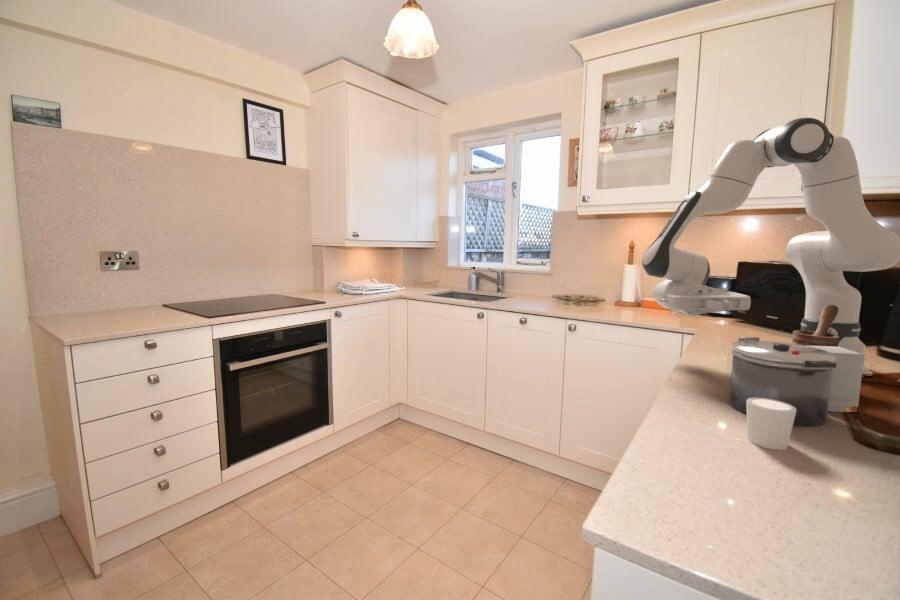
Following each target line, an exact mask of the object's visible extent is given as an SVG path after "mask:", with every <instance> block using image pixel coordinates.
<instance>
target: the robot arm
mask: <svg viewBox="0 0 900 600" xmlns="http://www.w3.org/2000/svg"><path fill="white" fill-rule="evenodd" d="M857 161H858V160H857V157H856V154H855V151H854V147H853V146H852V144H851V141H850V140H849V139H848V138H846V137H845V136H838V135H837V136H836V135H833V133H831V132H830V130H829V128H828V126H827V125H826V124H825V123H824V122H823V121H821V120H819V119H818V118H814V117H799V118H795V119H793V120H788V121H785V122H782V123H779V124H777V125H775V126H774V127H771V128H768V129H766V130H764V131H763V132H761V133H759V134H758V135H757V136H755V138H753V139H752V140H751V139H740V140H735V141H733V142H732V143H730V144H729V145H728V146H727V147H726V148H725V150H724V151H723V152H722V154H721V155H720V157H719V158H718V160H717V162H715V164H714V166H713V168H712V170H711V172H710V174H709V176H708V178H707V180H706V181H705V182H704V184H703V185H702V186H701V187H700V188H699V189H697V191H692V192H690V193H689V194H687V196H685V198H684V199H683V200H682V201H681V203H680V204H679V205H678V206H677V208H676V210H675V211H674V212H673V214H672V215H671V217H670V218H669V220H668V221H667V223H666V224H665V226H664V227H663V228H662V230H661V231H660V233H659V234H658V236H657V238H656V239H655V240H654V241H653V242H652V243H651V244H650V245H649V247H648V248H647V249H646V250H645V252H644V253H643V255H642V259H641V264H642V265H641V266H642V267H643V270H644V271H645V273H646V274H647V275H648V276H651V277H655V278H659V279H661V278H662V279H664V280H663V281H660V282H659V283H657V284H656V285H654V288H653V289H652V290H653V291H652V295H653V298H654V300H655V302H656V303H657V304H659V306H661V307H663V308H665V309H667V310H670V311H671V310H672V311H676V312H679V313H682V314H687V315H690V316H700V315H703V314H708V313H718V312H725V311H748V310H750V309H751V302H752V301H751V300H752V299H751V296H750V295H747V294H743V293H740V292H739V293H738V292H735V291H729V290H728V289H727V288H723V287H715V286H713V287H712V286H708V285H707V282H708V280H709V278H710V276H711V275H710V273H711V266H710V263H709V260H708V259H707V257H706V256H704V255H702V254H699V253H696V252H695V253H694V252H692V251H689V250H685V249H682V248H678V247H675V244H676V243H677V241H678V240H679V238H680V237H681V235H682V234H683V233H684V232H685V230H686V229H687V227H688V226H689V224H690V223H691V222H692V221H693V220H694V219H696V218H698V217H700V216H705V215H707V216H708V215H720V214H725V213H729V212H732V211H734V210H736V209H738V208H740V207H741V206H742V205H743V204H744V203H745V202H746V200H747V199H748V197H749V195H750V193H751V192H752V189H753V187H754V185H755V184H756V181H757V179H758V178H759V176H760V174H761V173H762V172H763V171H764V170H765V169H766V168H774V167H787V166H791V165H794V166H795V167H796V168H797V170H798V171H799V173H800V175H801V176H800V177H801V179H800V180H801V187H802V188H801V189H802V194H803V195H802V196H803V202H804V208H805V213H806V214H807V215H808V216H809V217H810V218H811V219H814V220H816V221H818V222H820V224H822V225H823V226H824V228H825V229H826V230H824V231H823V230H820V231H819V230H818V231H811V232H805V233H802V234H798V235H794V236H793V237H792V238H791V239H790V240H789V241H788V243H787V244H786V247H785V258H786V259H787V262H788V263H789V264H790V265H791V266H793V267H794V268H795V269H796V270H797V271H798V273H799V275H800V276H801V279H802V281H803V284H804V288H805V289H804V290H805V305H804V306H805V307H804V317H802V319H801V322H800V330H804V331H816V330H817V327H818V324H819V321H820V317H821V313H822V310H823V308H824V307H825V306H826V305H834V306H837V307H838V313H837V316H836V317H835V319H834V321H833V322H832V323H831V325H830V327H829V329H828V333H829V334H833V335H837V336H839V345H838V347H841V348H844V349H848V350H851V351H854V352H858V353H861V354H864V362H863V370H862V373H869V374H873V375H874V373H873V371H871V370H870V369H869V368H867V367H866V366H865V361H866V359H865V356H866V344H864V343H863V341H861V340H860V338H859V336H860V332H861V323H860V314H861V313H860V312H861V307H862V306H861V305H862V295H861V292H860V291H859V290H858V289H857V288H855V287H854V286H851V285H850V284H849V283H848V282H847V280H846V279H845V277H844V271H845V272H862V273H864V272H865V273H866V272H874V271H876V272H877V271H881V270H887V269H890V268H892V267H894V266H895V265H896V264H897V263H898V262H899V261H900V236H899V234H897V233H896V232H894V231H892V230H890V229H888V228H886V227H885V226H883V225H881V224H880V223H879V222H878V221H877V220H876V218H874V217H873V215H872V214H871V213H870V211H869V210H868V208H867V206H866V204H865V201H864V196H863V192H862V191H863V190H862V187H861V185H862V184H861V181H860V171H859V165H858V162H857Z"/></svg>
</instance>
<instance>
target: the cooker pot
mask: <svg viewBox="0 0 900 600" xmlns="http://www.w3.org/2000/svg"><path fill="white" fill-rule="evenodd" d="M731 355H732V361H731V362H732V363H731V371H730V372H731V373H730V385H729V392H728V393H729V394H728V395H729V397H728V403H729V405H730V406H731V408H733V409H734V410H737V412H739V413H742V414H744V415H745V416H747V402H746V400H747V399H749V398H767V399H773V400H777V401H781V402H784V403H787V404H790V405H792V406H794V407H795V408H796V414H795V419H794V423H793V427H804V428H805V427H807V428H808V427H818V426H823V425H824V424H826V423H827V417H828V411H827V410H828V402H829V394H830V386H831V377H832V369H833V368H814V367H811V366H807V365H796V364H786V363H779V362H772V361H767V360H761V359H757V358H752V357H749V356H745V355H742V354H739V353H737V352H735V351H733V350H732V349H731Z"/></svg>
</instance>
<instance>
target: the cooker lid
mask: <svg viewBox="0 0 900 600" xmlns="http://www.w3.org/2000/svg"><path fill="white" fill-rule="evenodd" d="M731 344H732V345H731V351H732V350H733V351H735V352H737V353H739V354H742V355H745V356H749V357H752V358H757V359H761V360H767V361H772V362H779V363H786V364H796V365H807V366H811V367H814V368H836V364H837V363H835V362H836V355H834V354H833V353H830V352H828V351H825V350H821V349H817V348H813V347H808V346H803V345H797V344H792V342H791V343H789V342H781V341H771V340H770V341H769V340H761V339H760V337H756V336H755V337H753V336H752V337H750V336H749V337H748V336H747V337H742V336H741V337H738V341H737V340H736V341H733V342H732V343H731Z"/></svg>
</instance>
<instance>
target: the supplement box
mask: <svg viewBox="0 0 900 600" xmlns="http://www.w3.org/2000/svg"><path fill="white" fill-rule="evenodd" d="M808 347H813V348H817V349H821V350H825V351H828V352H830V353H833V354H834V355H836V362H835V363H837V364H836V368H833V369H832V377H831V386H830V394H829V402H828V410H827V412H836V413H845V412H844V410H845V409H846V408H847V407H853V406H856V407H858V408H859V402H860V394H861V386H862V377H863V376H862V370H863V362H864V363H865V361H864V354H861V353H858V352H854V351H851V350H848V349H844V348H841V347H835V346H808Z"/></svg>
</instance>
